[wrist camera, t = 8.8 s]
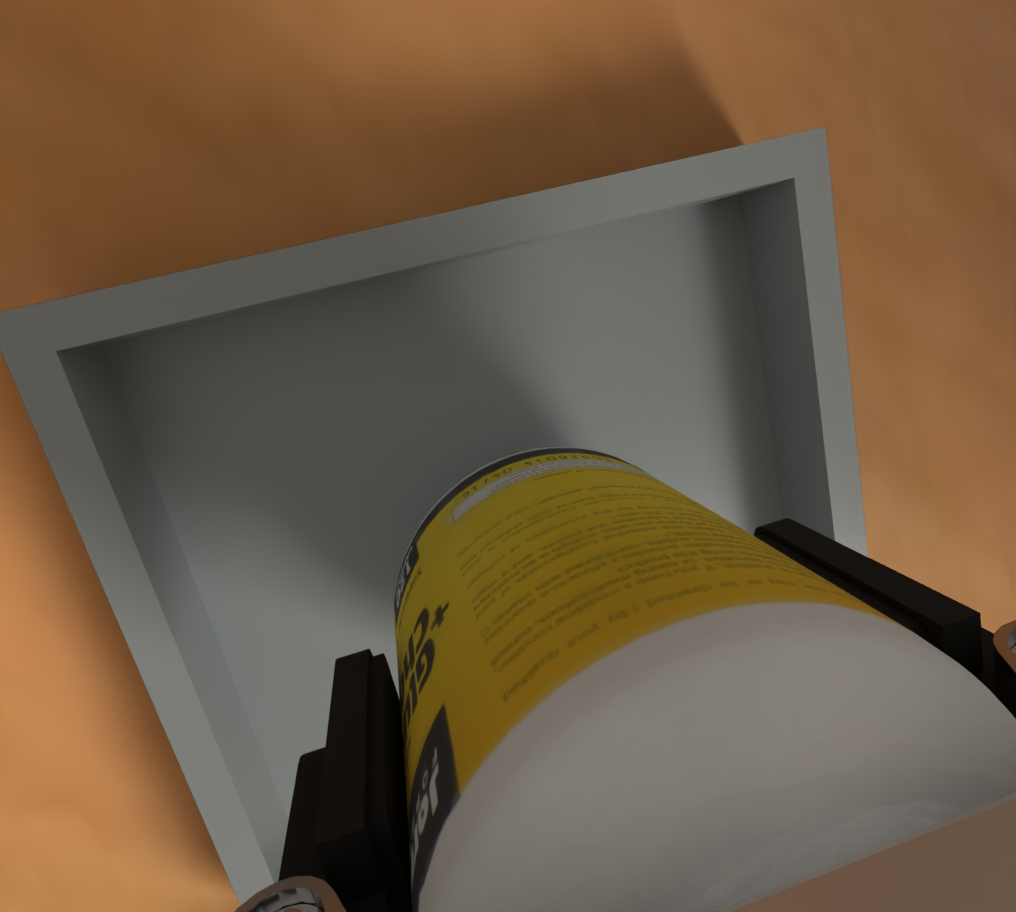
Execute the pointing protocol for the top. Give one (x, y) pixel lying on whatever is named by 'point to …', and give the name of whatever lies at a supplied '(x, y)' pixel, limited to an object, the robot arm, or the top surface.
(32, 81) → the top surface
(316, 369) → the tray
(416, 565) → the pill bottle
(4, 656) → the top surface
